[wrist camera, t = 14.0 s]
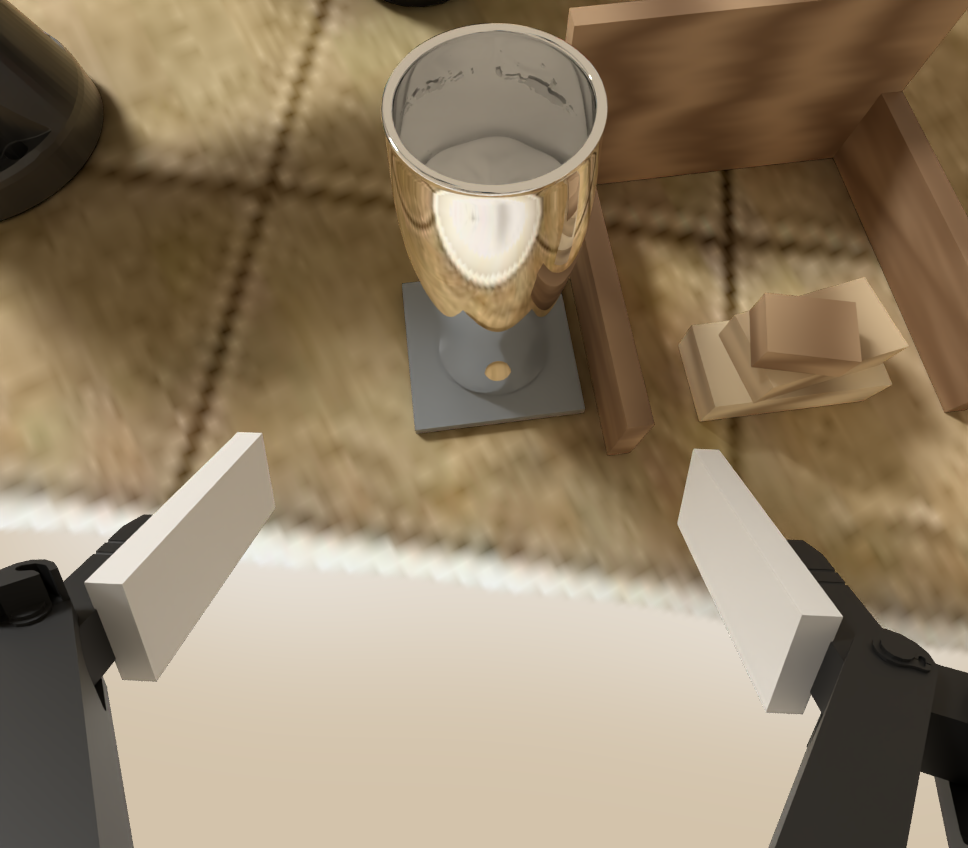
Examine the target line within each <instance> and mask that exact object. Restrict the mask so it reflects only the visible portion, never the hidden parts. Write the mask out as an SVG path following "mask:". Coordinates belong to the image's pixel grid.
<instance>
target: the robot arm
mask: <svg viewBox="0 0 968 848" xmlns="http://www.w3.org/2000/svg"><path fill="white" fill-rule="evenodd" d="M102 125H103V104H102V100H101V97H100V94H99V92H98V89H97V88H96V86H95V84H94V83H93V82H92V80H91V79H90V78H89V76H88V75H87V74H86V72H85V71H84V70H83V68H82V67H81V66H80V64H79V63H78V62H77V61H76V59H75V58H74V57H73V55H72V54H71V53H70V52H69V51H68V50H67V49H66V48H65V47H64V46H63V45H62V44H61V43H60V42H59V41H57V40H56V39H55V38H53V37H52V36H50V35H49V34H47V33H46V32H44V31H43V30H41V29H40V28H39V27H38V26H37V25H36V24H34V23H33V22H32V21H31V20H30V19H29V18H27V17H26V16H25V15H24V14H23V13H22V12H20V11H19V10H18V9H17V8H16V7H14V6H13V5H12V4H11V3H10V2H8V1H7V0H0V221H1V220H4V219H7V218H9V217H12V216H14V215H17V214H19V213H21V212H24V211H26V210H28V209H30V208H32V207H33V206H35V205H37V204H39V203H40V202H42V201H44V200H45V199H47V198H48V197H50V196H51V195H53V194H54V193H55V192H57V191H58V190H59V189H60V188H62V187H63V186H64V185H65V184H66V183H67V182H68V181H70V180H71V179H72V178H73V177H74V176H75V175H76V173H77V172H78V171H79V170H80V169H81V168H82V166H83V165H84V164H85V163H86V161H87V160H88V158H89V157H90V155H91V153H92V152H93V150H94V148H95V146H96V144H97V142H98V139H99V136H100V133H101V130H102ZM275 508H276V507H275V501H274V496H273V490H272V485H271V479H270V473H269V468H268V462H267V457H266V451H265V445H264V440H263V434H262V433H248V432H237V433H236V434H235V435H234V436H233V437H232V438H231V439H230V440H229V441H228V442H227V443H226V444H225V445H224V446H223V447H222V448H221V449H220V450H219V451H218V452H217V453H216V454H215V455H214V456H213V457H212V458H211V459H210V460H209V461H208V462H207V463H206V464H205V465H204V466H203V467H202V468H201V469H200V470H199V471H197V472H196V473H195V474H194V475H193V476H192V477H191V478H190V479H189V480H188V481H187V482H186V483H185V484H184V485H183V486H182V487H181V488H180V489H179V490H178V491H177V492H176V493H175V494H174V495H173V496H172V497H171V498H170V499H169V500H168V501H167V502H166V503H165V504H164V505H163V506H162V507H161V508H160V509H159V510H158V511H157V512H156V513H155V514H153V515H142V516H140V517H138V518H137V519H135V520H133V521H131V522H130V523H128V524H126V525H124V526H123V527H122V528H121V529H120V530H118V531H117V532H116V533H115V534H114V535H113V536H112V537H111V538H110V539H109V540H108V543H105V544H103V546H101V547H100V548H99V549H98V550H97V551H96V554H93V555H92V556H90V558H88V559H87V560H86V561H85V562H84V563H83V564H82V565H81V566H80V567H79V568H78V569H77V570H76V571H74V572H73V573H72V574H71V575H70V576H69V577H68V578H67V579H66V580H65V581H64V582H63V580H62V577H61V575H60V573H59V570H58V568H57V566H56V565H55V563H54V562H51V561H48V560H29V561H24V562H20V563H16V564H13V565H11V566H8V567H6V568H3V569H1V570H0V848H134V847H133V841H132V835H131V829H130V823H129V817H128V811H127V805H126V800H125V794H124V787H123V781H122V776H121V769H120V764H119V757H118V751H117V745H116V739H115V733H114V727H113V722H112V716H111V709H110V704H109V698H108V692H107V686H106V684H105V681H104V679H103V675H104V673H105V672H106V671H107V670H108V668H109V667H110V666H111V664H112V663H113V662H114V661H115V663H116V665H117V668H118V670H119V673H120V675H121V678H122V680H136V681H137V680H138V681H157V680H158V679H159V677H160V676H161V674H162V673H163V671H164V670H165V668H166V667H167V666H168V664H169V663H170V661H171V660H172V658H173V657H174V655H175V654H176V652H177V651H178V649H179V648H180V647H181V645H182V644H183V642H184V641H185V639H186V638H187V636H188V635H189V633H190V632H191V630H192V629H193V628H194V626H195V625H196V623H197V622H198V620H199V619H200V617H201V616H202V614H203V613H204V611H205V610H206V609H207V607H208V606H209V604H210V603H211V601H212V600H213V598H214V597H215V596H216V594H217V593H218V591H219V590H220V588H221V587H222V585H223V584H224V582H225V581H226V579H227V578H228V577H229V575H230V574H231V572H232V571H233V569H234V568H235V566H236V565H237V563H238V562H239V560H240V559H241V558H242V556H243V555H244V553H245V552H246V550H247V549H248V547H249V546H250V544H251V543H252V541H253V540H254V539H255V537H256V536H257V534H258V533H259V531H260V530H261V528H262V527H263V525H264V524H265V523H266V521H267V520H268V518H269V517H270V515H271V514H272V512H273V511H274V509H275ZM677 525H678V527H679V529H680V531H681V533H682V535H683V537H684V539H685V542H686V544H687V546H688V548H689V550H690V552H691V554H692V556H693V559H694V561H695V563H696V565H697V567H698V569H699V571H700V573H701V576H702V578H703V580H704V582H705V584H706V586H707V588H708V590H709V593H710V595H711V597H712V599H713V601H714V603H715V605H716V607H717V610H718V612H719V614H720V616H721V618H722V620H723V622H724V624H725V626H726V629H727V631H728V633H729V635H730V637H731V639H732V641H733V643H734V646H735V648H736V650H737V652H738V654H739V656H740V658H741V661H742V663H743V665H744V667H745V669H746V671H747V673H748V675H749V678H750V679H751V682H752V684H753V686H754V688H755V690H756V692H757V694H758V697H759V699H760V701H761V703H762V705H763V707H764V709H765V711H766V712H767V713H787V714H803V713H804V710H805V708H806V705H807V703H808V701H809V698H810V696H811V695H812V697H813V698H814V700H815V702H816V703H817V705H818V707H819V709H820V711H821V715H820V717H819V719H818V722H817V724H816V726H815V728H814V731H813V733H812V735H811V738H810V740H809V742H808V744H807V750H806V752H805V755H804V757H803V760H802V763H801V765H800V768H799V770H798V773H797V776H796V778H795V781H794V783H793V786H792V788H791V791H790V794H789V796H788V799H787V801H786V804H785V807H784V809H783V812H782V814H781V817H780V819H779V822H778V825H777V827H776V830H775V832H774V835H773V837H772V840H771V843H770V845H769V848H906V846H907V841H908V835H909V830H910V824H911V819H912V813H913V808H914V802H915V797H916V791H917V786H918V780H919V775H920V772H923V773H926V774H930V775H932V776H934V777H935V782H936V787H937V792H938V797H939V802H940V806H941V811H942V816H943V821H944V826H945V831H946V836H947V841H948V845H949V848H968V673H966V672H962V671H959V670H955V669H952V668H948V667H944V666H940V665H938V664H936V663H935V662H934V661H933V659H932V658H931V656H930V655H929V654H928V653H927V652H926V651H925V650H924V649H923V648H921V647H920V646H919V645H918V644H917V643H915V642H914V641H912V640H910V639H908V638H906V637H905V636H903V635H901V634H899V633H896V632H893V631H890V630H887V629H883V628H882V627H881V626H880V625H879V624H878V623H877V621H876V620H875V619H874V618H873V616H872V615H871V614H870V613H869V611H868V610H867V609H866V608H865V606H864V605H863V604H862V603H861V601H860V600H859V599H858V598H857V597H856V595H855V594H854V593H853V592H852V590H851V589H850V588H849V587H848V585H845V582H844V580H843V579H842V578H841V577H840V576H839V574H838V573H835V569H834V568H833V567H832V566H831V564H830V563H829V562H828V561H827V559H826V558H825V557H824V556H823V555H822V554H821V553H820V552H819V551H817V550H816V549H814V548H813V547H812V546H810V545H809V544H807V543H806V542H805V541H803V540H786V539H785V538H784V536H783V535H782V534H781V532H780V531H779V530H778V528H777V527H776V526H775V524H774V523H773V522H772V520H771V519H770V518H769V516H768V515H767V514H766V512H765V511H764V509H763V508H762V507H761V505H760V504H759V503H758V501H757V500H756V499H755V497H754V496H753V495H752V493H751V492H750V491H749V489H748V488H747V487H746V485H745V484H744V483H743V481H742V480H741V479H740V477H739V476H738V474H737V473H736V472H735V470H734V469H733V468H732V466H731V465H730V464H729V462H728V461H727V460H726V458H725V457H724V456H723V454H722V453H721V452H720V450H715V449H693V452H692V457H691V462H690V466H689V471H688V476H687V480H686V485H685V490H684V495H683V499H682V504H681V509H680V513H679V518H678V523H677Z"/></svg>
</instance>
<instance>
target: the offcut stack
mask: <svg viewBox="0 0 968 848" xmlns="http://www.w3.org/2000/svg"><path fill="white" fill-rule="evenodd" d="M908 346H909V345H908V344H907V342H906V341H905V339H904V337H903V336H902V334H901V333H900V331H899V330H898V328H897V327H896V325H895V323H894V322H893V320H892V319H891V317H890V316H889V314H888V313H887V311H886V309H885V308H884V306H883V305H882V303H881V302H880V300H879V299H878V297H877V295H876V294H875V292H874V291H873V289H872V288H871V286H870V284H869V283H868V281H867V280H866V278H865V277H862V278H859V279H855V280H852V281H849V282H845V283H842V284H838V285H835V286H831V287H828V288H825V289H821V290H818V291H814V292H811V293H808V294H804V295H801V296H793V295H783V294H774V293H764V295H763V296H762V297H761V298H760V299H759V300H758V302H757V303H756V304H755V305H754V306H753V307H752V309H751V310H749V311H746V312H743V313H739V314H736V315H734V316H733V318H732V319H731V320H730V321H722V322H714V323H706V324H697V325H692V326H691V327H690V328H689V330H688V331H687V333H686V334H685V336H684V337H683V338H682V340H681V341H680V343H679V344H678V347H679V350H680V354H681V358H682V361H683V365H684V369H685V372H686V376H687V379H688V383H689V387H690V390H691V394H692V398H693V401H694V405H695V408H696V412H697V416H698V419H699V422H700V421H708V420H716V419H724V418H732V417H740V416H748V415H756V414H763V413H771V412H779V411H787V410H795V409H803V408H811V407H819V406H827V405H835V404H843V403H850V402H858V401H864V400H866V399H868V398H869V397H871V396H873V395H875V394H877V393H878V392H880V391H882V390H884V389H885V388H887V387H889V386H891V385H892V382H891V380H890V378H889V375H888V373H887V370H886V368H885V365H884V363H883V362H885V361H886V360H888V359H889V358H891V357H893V356H894V355H896V354H897V353H899V352H900V351H902V350H904V349H905V348H907V347H908Z"/></svg>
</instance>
